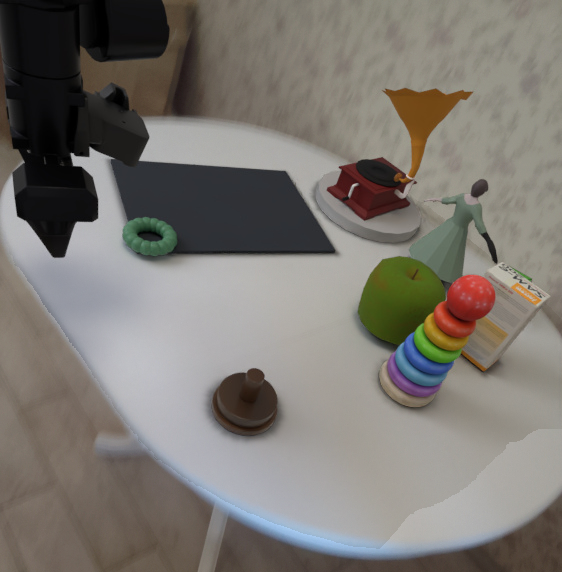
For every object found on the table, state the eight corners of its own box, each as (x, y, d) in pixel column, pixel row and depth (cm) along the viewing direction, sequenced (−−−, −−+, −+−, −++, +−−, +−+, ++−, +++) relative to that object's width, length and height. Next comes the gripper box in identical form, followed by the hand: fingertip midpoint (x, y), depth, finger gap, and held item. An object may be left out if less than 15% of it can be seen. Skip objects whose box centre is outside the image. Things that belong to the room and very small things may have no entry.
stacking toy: (365, 381, 67) (434, 269, 54) (395, 354, 72) (465, 246, 59) (414, 420, 65) (498, 313, 51) (441, 390, 70) (524, 285, 56)
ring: (126, 259, 69) (127, 247, 68) (117, 225, 74) (118, 213, 72) (182, 258, 73) (183, 247, 71) (170, 226, 77) (171, 214, 75)
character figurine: (479, 300, 87) (547, 208, 74) (454, 315, 82) (522, 219, 69) (411, 245, 93) (462, 151, 80) (383, 256, 88) (433, 157, 75)
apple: (430, 355, 74) (470, 299, 66) (364, 352, 71) (397, 293, 63) (404, 302, 81) (438, 246, 73) (342, 297, 78) (370, 238, 70)
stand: (221, 440, 55) (232, 408, 51) (203, 386, 60) (212, 351, 55) (285, 430, 59) (300, 398, 54) (263, 379, 63) (276, 346, 58)
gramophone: (436, 228, 100) (512, 96, 81) (371, 253, 88) (444, 105, 69) (362, 172, 107) (416, 39, 89) (293, 188, 95) (340, 38, 77)
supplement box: (497, 360, 78) (553, 296, 68) (482, 373, 75) (539, 307, 65) (455, 326, 80) (503, 259, 71) (439, 337, 78) (487, 269, 68)
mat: (137, 253, 72) (137, 251, 71) (110, 161, 85) (110, 158, 84) (334, 253, 85) (335, 250, 84) (285, 173, 98) (285, 170, 98)
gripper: (168, 131, 39) (152, 287, 50) (126, 33, 49) (120, 181, 61) (3, 116, 35) (26, 290, 46) (-6, 11, 45) (15, 175, 56)
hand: (54, 228), depth 52 cm, fingers open, 9 cm apart
